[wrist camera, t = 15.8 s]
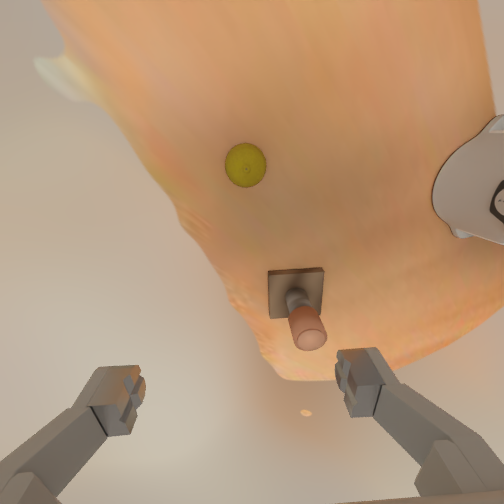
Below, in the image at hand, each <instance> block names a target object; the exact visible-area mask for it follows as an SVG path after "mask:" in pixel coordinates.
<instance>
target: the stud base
mask: <svg viewBox="0 0 504 504" xmlns="http://www.w3.org/2000/svg"><path fill="white" fill-rule="evenodd" d="M323 282H324V270H323V269H322V268H309V269H294V270H279V271H268V289H269V316H270V319H275V318H289V315H290V313H291V312H292V311H293V310H294V309H296V308H298V307H301V306H309V307H312V308H314V309H315V310H316V311H317V312H318V315H320V314H321V303H322V292H323Z"/></svg>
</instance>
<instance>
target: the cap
mask: <svg viewBox="0 0 504 504" xmlns="http://www.w3.org/2000/svg"><path fill="white" fill-rule="evenodd" d="M288 321H289V325H290V329H291V333H292V336H293V340H294V344H295V346H296V347H297V348H299V349H301V350H304V351H313V350H316V349H318V348H320V347H322V346H323V345H324V344H325V342H326V340H327V333H326V331H325V328H324V326H323V324H322V322H321V319H320V317H319V315H318V312H317V311H316V310H315V309H314V308H312V307H309V306H301V307H298V308H296V309H294V310H293V311H292V312H291V313H290V315H289V318H288Z"/></svg>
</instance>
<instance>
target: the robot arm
mask: <svg viewBox="0 0 504 504" xmlns="http://www.w3.org/2000/svg"><path fill="white" fill-rule="evenodd" d="M432 199H433V206H434V209H435V211H436V213H437V215H438V216H439V217H440V218H441V219H442V220H443V221H445V222H446V223H447V224H449V226H450V228H451V231H452V233H453V235H454V236H455V237H458V238H462V239H463V238H468V237H472V236H477V237H480V238H483V239H486V240H489V241H492V242H495V243H498V244H501V245H504V115H498V116H496V117H495V118H494V119H493V120H491V121H490V123H489V124H488V125H487V126H486V127H485V128H484V129H483V130H482V132H481V133H480V134H479V135H477V136H476V137H475V138H473V139H472V140H470V141H469V142H467V143H466V144H464V145H463V146H461V147H460V148H459V149H458V150H457V151H456V152H455V153H454V154H453V155H452V156H451V157H450V158H449V159H448V160H447V162H446V163H445V164H444V166H443V167H442V169H441V171H440V172H439V174H438V176H437V179H436V181H435V184H434V188H433V197H432ZM336 357H337V359H338V362H337V363H336V364H335V376H336V380H337V384H338V386H339V389H340V390H341V391H342V392H344V393H345V396H344V402H345V404H346V407H347V409H348V412H349V414H350V417H351V418H353V417H373V418H374V419H375V420H376V421H377V422H378V423H379V424H380V425H381V426H382V427H383V428H384V429H385V430H386V431H387V432H388V433H389V434H390V435H391V436H392V437H393V438H394V439H395V440H396V441H397V442H398V443H399V444H400V445H401V446H402V447H403V448H404V449H405V450H406V451H407V452H408V453H409V455H411V457H412V458H414V459H415V461H416V462H417V463H419V465H420V466H421V469H420V471H419V473H418V475H417V477H416V479H415V482H414V484H415V486H416V488H417V490H418V492H419V494H420V496H421V497H412V498H399V499H386V500H374V501H362V502H350V503H338V504H504V464H503V463H502V462H501V461H500V459H499V458H498V457H497V456H496V454H495V453H494V452H493V451H492V449H491V448H490V447H489V446H488V444H487V443H486V442H485V441H484V439H482V437H481V436H480V435H479V434H477V433H476V432H474V431H473V430H471V429H470V428H468V427H467V426H466V425H464V424H463V423H461V422H460V421H458V420H456V419H455V418H454V417H452V416H451V415H449V414H448V413H447V412H445V411H444V410H442V409H441V408H439V407H438V406H436V405H435V404H434V403H432V402H430V401H429V400H428V399H426V398H425V397H423V396H422V395H420V394H419V393H418V392H416V391H415V390H413V389H412V388H410V387H409V386H407V385H406V384H401V383H400V382H399V380H398V379H397V377H396V376H395V374H394V373H393V371H392V370H391V368H390V367H389V365H388V364H387V362H386V361H385V359H384V358H383V356H382V355H381V353H380V352H379V350H378V349H377V348H376V347H372V348H356V349H344V350H338V352H337V356H336ZM140 372H141V369H140V367H139V365H128V366H127V365H126V366H108V367H98V368H97V369H96V370H95V371H94V373H93V374H92V376H91V377H90V379H89V381H88V382H87V384H86V385H85V387H84V388H83V390H82V392H81V393H80V395H79V396H78V398H77V400H76V401H75V403H74V404H73V406H72V407H71V408H69V409H66V410H65V411H64V412H62V413H61V414H60V415H58V416H57V417H56V418H55V419H53V420H52V421H51V422H50V423H48V424H47V425H46V426H45V427H43V428H42V429H41V430H39V431H38V432H37V433H36V434H34V435H33V436H32V437H31V438H30V439H28V440H27V441H26V442H24V443H23V444H22V445H21V446H19V447H18V448H17V449H16V450H14V451H13V452H12V453H11V454H9V455H8V456H7V457H5V458H4V459H3V460H2V461H1V462H0V504H61V503H60V502H59V500H57V498H56V497H57V496H58V495H59V494H60V493H61V491H62V490H63V489H64V488H65V487H66V486H67V484H68V483H69V482H70V481H71V480H72V479H73V477H74V476H75V475H76V474H77V473H78V472H79V470H80V469H81V468H82V467H83V466H84V465H85V464H86V463H87V461H88V460H89V459H90V458H91V457H92V456H93V454H94V453H95V452H96V451H97V450H98V449H99V447H100V446H101V445H102V444H103V443H104V442H105V441H106V439H107V437H111V436H120V435H129V434H131V431H132V429H133V426H134V423H135V421H136V418H137V412H136V409H137V408H138V407H139V406H140V405H141V404H142V402H143V399H144V396H145V390H146V385H145V380H144V378H143V377H141V376H140V375H139V374H140Z"/></svg>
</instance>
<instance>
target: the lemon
mask: <svg viewBox="0 0 504 504" xmlns="http://www.w3.org/2000/svg"><path fill="white" fill-rule="evenodd" d="M225 170H226V173H227V175H228V177H229V179H230V180H231V181H232V182H233V183H234V184H236V185H238V186H241V187H251V186H254V185H256V184H258V183H259V182H260V181H261V180H262V178H263V177H264V174H265V172H266V159H265V157H264V154H263V153H262V151H261V150H260V149H259V148H258V147H256V146H254V145H252V144H248V143H243V144H239V145H237V146H235V147H234V148H232V149H231V150H230V152H229V153H228V155H227V157H226V161H225Z"/></svg>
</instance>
